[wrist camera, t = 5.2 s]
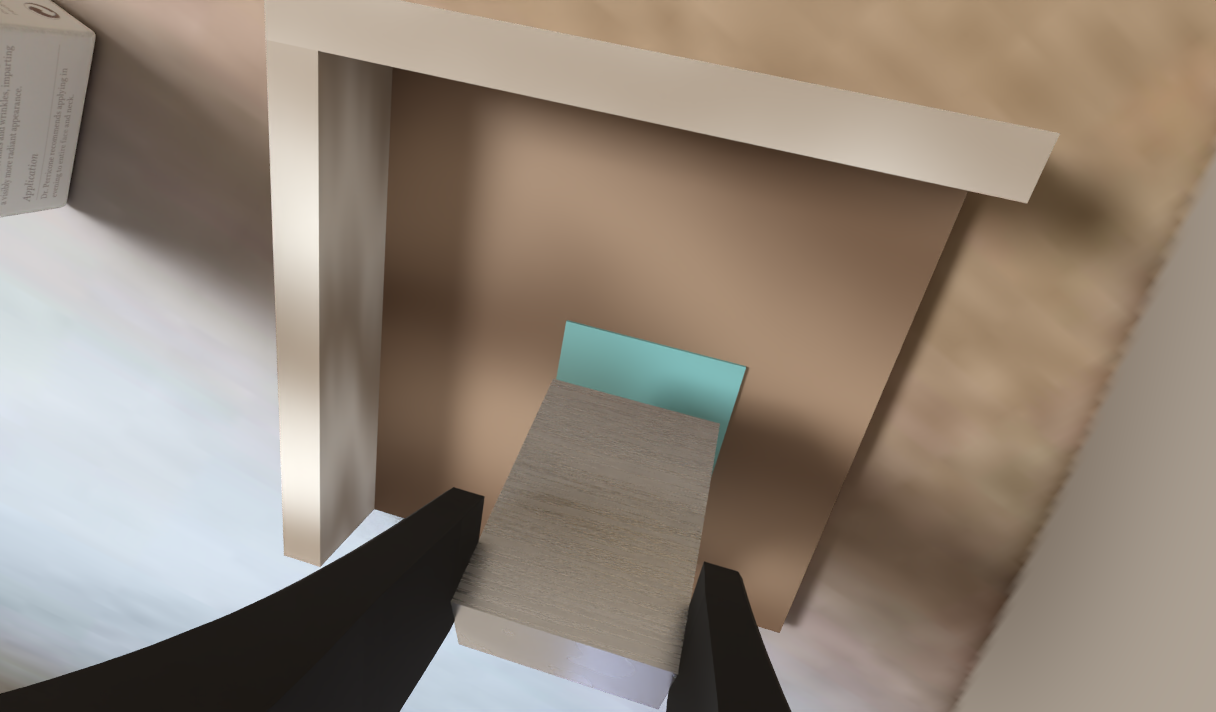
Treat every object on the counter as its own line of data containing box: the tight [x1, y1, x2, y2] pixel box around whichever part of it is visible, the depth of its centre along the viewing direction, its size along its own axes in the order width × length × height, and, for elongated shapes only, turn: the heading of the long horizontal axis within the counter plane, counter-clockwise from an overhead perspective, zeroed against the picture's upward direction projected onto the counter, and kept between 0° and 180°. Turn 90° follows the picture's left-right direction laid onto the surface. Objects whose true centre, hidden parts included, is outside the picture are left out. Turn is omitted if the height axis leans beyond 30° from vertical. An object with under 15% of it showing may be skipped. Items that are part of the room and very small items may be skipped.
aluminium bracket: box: [451, 379, 720, 709], centre depth 14 cm, size 4×6×6 cm, turn 168°
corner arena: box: [264, 0, 1060, 633], centre depth 16 cm, size 15×15×4 cm
